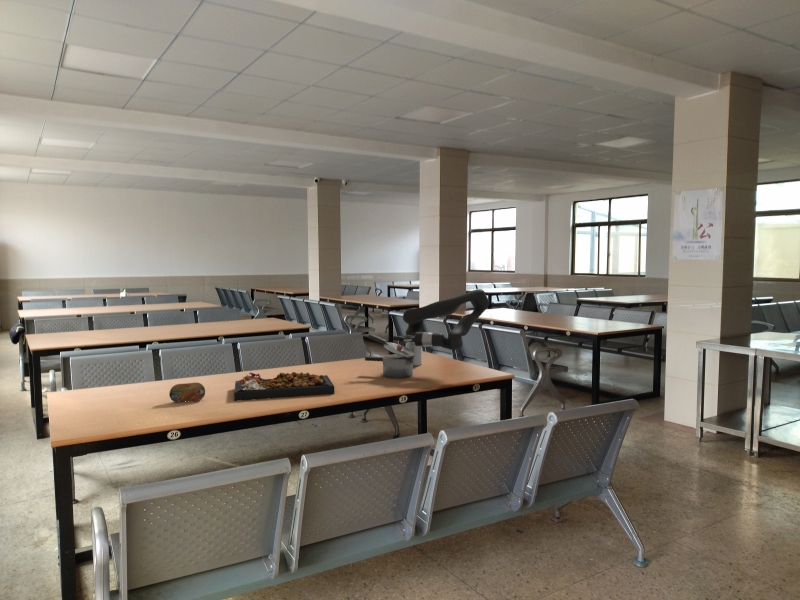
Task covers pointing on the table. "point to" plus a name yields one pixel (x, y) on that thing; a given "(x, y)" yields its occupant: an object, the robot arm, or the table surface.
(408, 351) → the cooker lid
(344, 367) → the table surface
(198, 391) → the tin
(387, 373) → the cooker pot
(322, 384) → the food platter
